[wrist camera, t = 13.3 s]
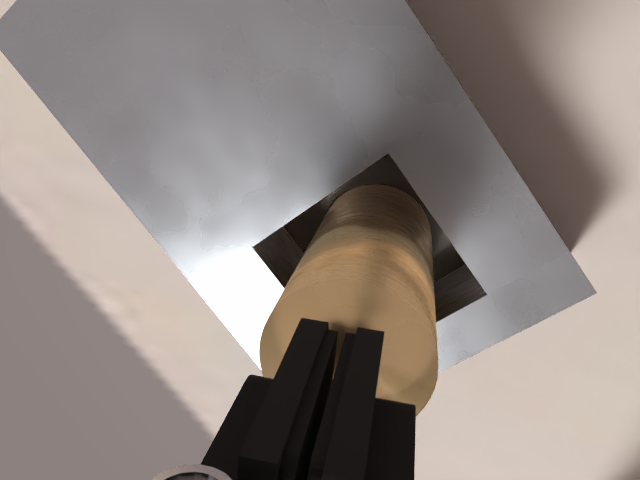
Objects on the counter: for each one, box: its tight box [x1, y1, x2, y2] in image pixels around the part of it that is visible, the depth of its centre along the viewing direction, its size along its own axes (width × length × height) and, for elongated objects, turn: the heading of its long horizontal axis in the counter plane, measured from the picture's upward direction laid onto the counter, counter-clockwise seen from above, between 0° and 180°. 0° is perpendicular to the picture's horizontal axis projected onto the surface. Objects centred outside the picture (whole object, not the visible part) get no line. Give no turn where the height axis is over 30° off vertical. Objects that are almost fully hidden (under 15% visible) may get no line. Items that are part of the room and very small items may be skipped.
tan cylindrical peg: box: [259, 184, 438, 416], centre depth 15 cm, size 4×4×8 cm
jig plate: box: [0, 0, 597, 373], centre depth 17 cm, size 16×10×3 cm, turn 37°
